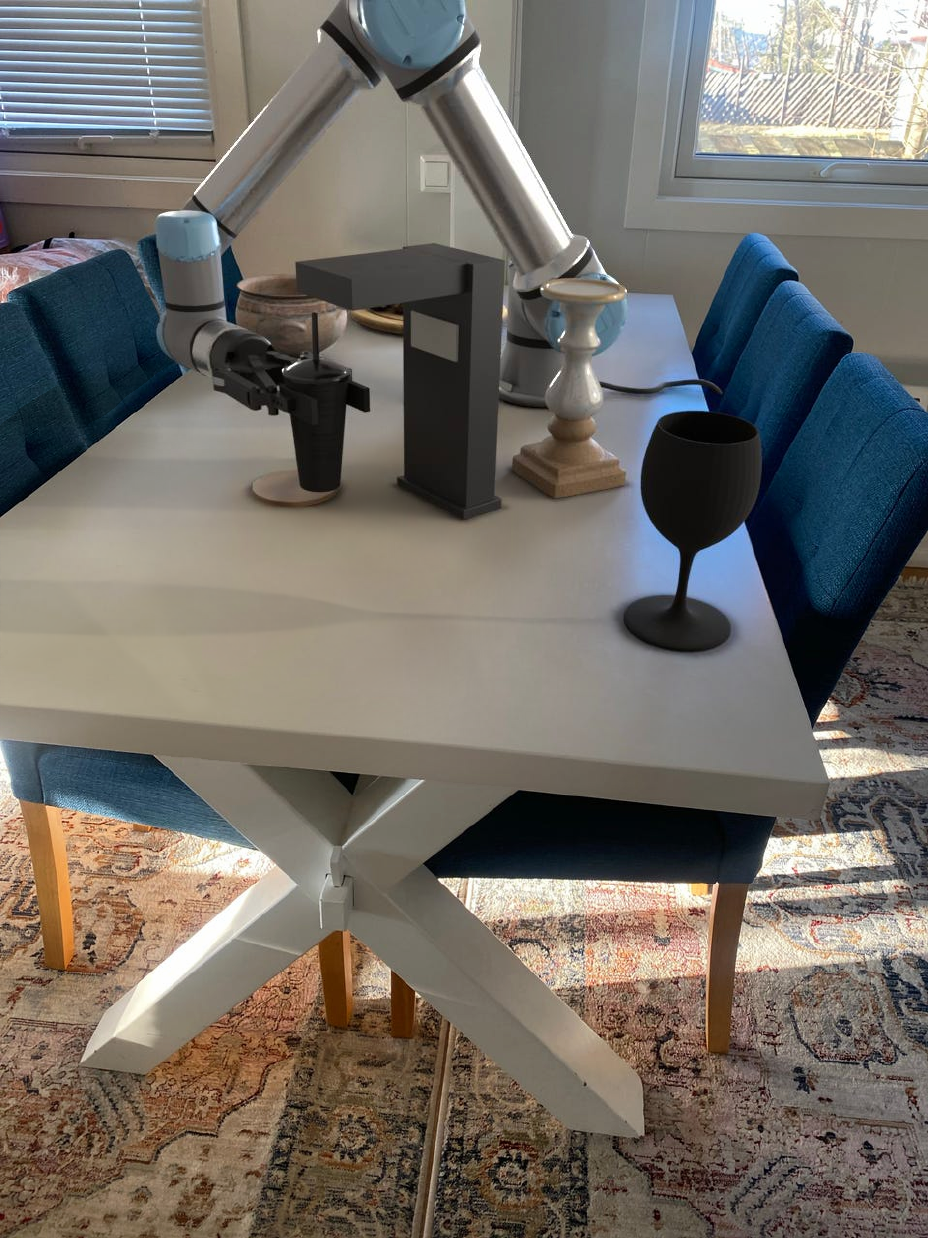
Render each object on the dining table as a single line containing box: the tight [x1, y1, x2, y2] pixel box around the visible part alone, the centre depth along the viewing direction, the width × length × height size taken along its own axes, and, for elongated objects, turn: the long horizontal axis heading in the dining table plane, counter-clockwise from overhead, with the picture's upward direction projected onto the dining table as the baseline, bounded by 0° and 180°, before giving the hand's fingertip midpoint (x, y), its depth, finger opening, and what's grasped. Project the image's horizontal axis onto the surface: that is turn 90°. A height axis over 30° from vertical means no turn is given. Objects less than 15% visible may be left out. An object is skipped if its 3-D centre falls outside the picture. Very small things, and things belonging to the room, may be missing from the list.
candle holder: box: [511, 278, 628, 499], centre depth 120 cm, size 11×11×24 cm
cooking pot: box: [235, 273, 348, 359], centre depth 168 cm, size 25×19×12 cm
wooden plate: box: [349, 303, 508, 335], centre depth 195 cm, size 32×32×8 cm
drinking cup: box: [282, 312, 351, 492], centre depth 111 cm, size 8×8×20 cm
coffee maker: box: [294, 242, 506, 521], centre depth 109 cm, size 20×13×28 cm, turn 130°
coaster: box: [251, 468, 339, 508], centre depth 120 cm, size 10×10×1 cm
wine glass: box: [623, 410, 763, 653], centre depth 90 cm, size 10×10×20 cm
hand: (341, 406), depth 107 cm, fingers closed on drinking cup, 6 cm apart
